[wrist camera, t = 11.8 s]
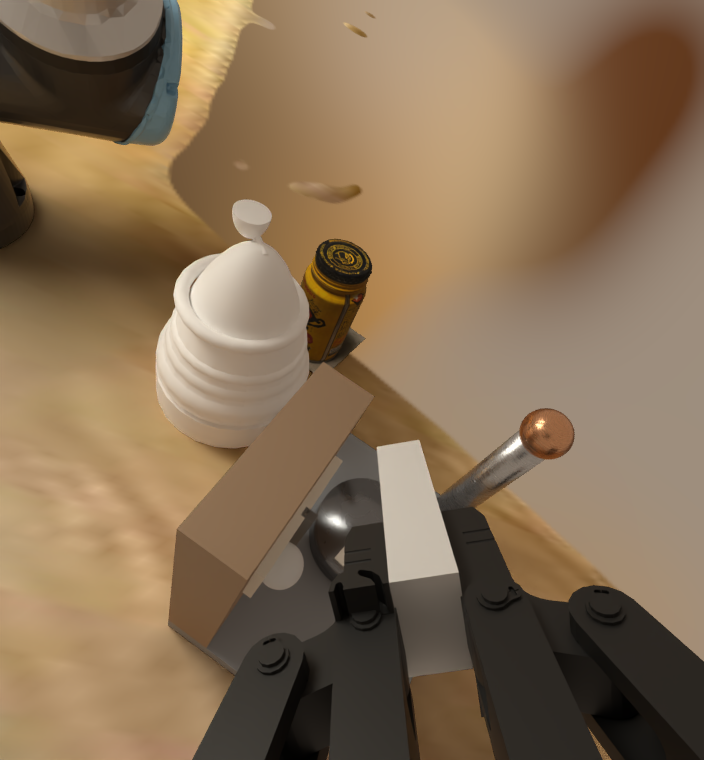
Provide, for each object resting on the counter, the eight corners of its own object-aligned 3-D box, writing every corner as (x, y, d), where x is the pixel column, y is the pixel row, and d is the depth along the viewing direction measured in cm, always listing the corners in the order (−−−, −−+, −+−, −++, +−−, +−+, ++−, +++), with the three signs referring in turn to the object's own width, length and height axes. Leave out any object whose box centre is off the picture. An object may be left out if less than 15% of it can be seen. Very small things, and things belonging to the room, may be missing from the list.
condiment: (267, 337, 49) (292, 247, 39) (316, 302, 54) (348, 215, 45) (320, 380, 47) (359, 298, 38) (364, 340, 53) (407, 260, 44)
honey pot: (140, 345, 43) (131, 167, 29) (269, 326, 49) (311, 173, 36) (178, 466, 38) (190, 318, 24) (317, 427, 44) (389, 292, 30)
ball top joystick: (381, 633, 33) (514, 578, 21) (287, 537, 35) (358, 433, 23) (461, 515, 41) (592, 424, 29) (381, 441, 43) (471, 325, 30)
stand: (168, 625, 31) (176, 528, 16) (319, 426, 44) (404, 269, 29) (364, 772, 30) (575, 819, 15) (461, 524, 43) (626, 413, 28)
